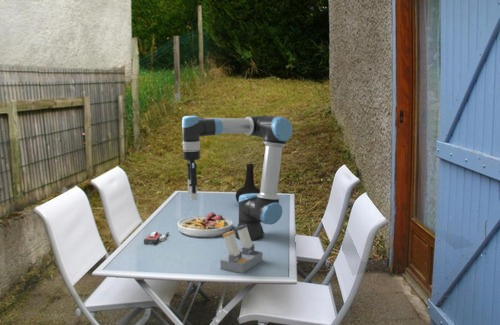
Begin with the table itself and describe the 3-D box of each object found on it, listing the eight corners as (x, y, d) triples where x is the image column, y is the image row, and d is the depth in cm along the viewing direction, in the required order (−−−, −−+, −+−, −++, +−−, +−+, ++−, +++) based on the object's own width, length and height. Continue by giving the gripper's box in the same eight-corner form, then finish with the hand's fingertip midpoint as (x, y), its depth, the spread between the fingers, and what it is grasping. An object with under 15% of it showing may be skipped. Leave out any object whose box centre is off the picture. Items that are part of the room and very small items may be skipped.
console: (220, 268, 233) (220, 253, 232) (241, 256, 250) (241, 242, 249) (242, 273, 228) (242, 257, 227) (262, 260, 245) (262, 245, 244)
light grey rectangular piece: (243, 253, 241) (235, 228, 242) (249, 249, 246) (241, 225, 246) (248, 252, 240) (241, 226, 240) (254, 248, 245) (246, 224, 245)
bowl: (224, 241, 275) (224, 226, 274) (169, 237, 281) (169, 222, 279) (237, 225, 304) (237, 212, 303) (187, 222, 310) (187, 209, 308)
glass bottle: (232, 207, 347) (232, 165, 343) (240, 201, 364) (240, 161, 359) (258, 209, 342) (258, 166, 337) (265, 203, 359) (266, 162, 354)
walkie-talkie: (159, 246, 265) (170, 235, 284) (159, 238, 264) (170, 227, 284) (142, 245, 266) (154, 234, 286) (142, 237, 265) (154, 226, 285)
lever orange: (230, 260, 231) (222, 234, 231) (236, 257, 236) (228, 231, 236) (235, 259, 230) (227, 233, 230) (241, 256, 234) (233, 230, 234)
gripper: (180, 147, 249) (182, 191, 253) (185, 154, 225) (186, 203, 228) (196, 146, 250) (197, 190, 254) (202, 154, 226) (203, 202, 230)
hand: (192, 196), depth 241 cm, fingers open, 13 cm apart
